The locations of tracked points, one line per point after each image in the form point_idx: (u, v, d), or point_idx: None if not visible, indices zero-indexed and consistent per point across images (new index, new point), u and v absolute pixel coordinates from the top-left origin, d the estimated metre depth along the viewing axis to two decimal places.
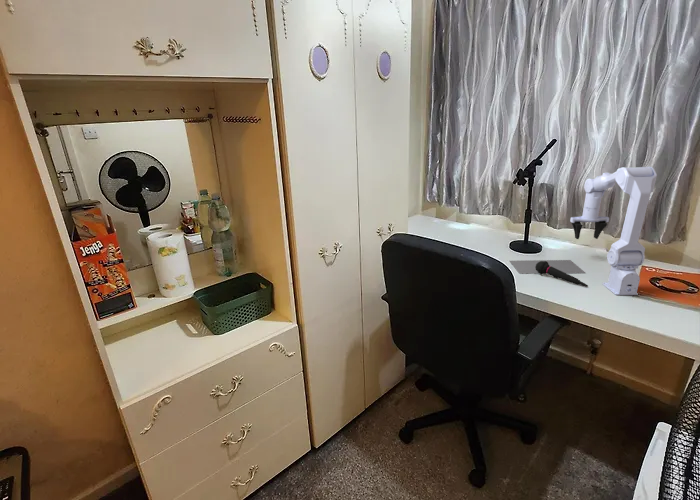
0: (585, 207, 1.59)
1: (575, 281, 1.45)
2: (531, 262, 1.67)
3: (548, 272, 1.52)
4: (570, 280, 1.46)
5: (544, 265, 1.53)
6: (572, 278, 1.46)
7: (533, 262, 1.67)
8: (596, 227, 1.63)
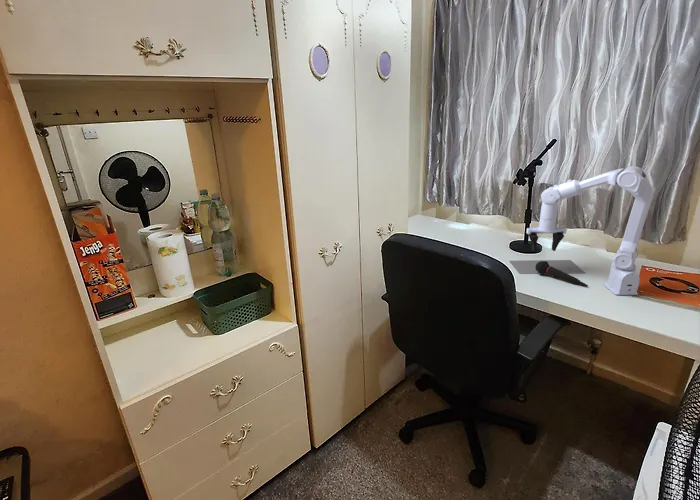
0: (541, 218, 1.50)
1: (575, 281, 1.45)
2: (531, 262, 1.67)
3: (548, 272, 1.52)
4: (570, 280, 1.46)
5: (544, 265, 1.53)
6: (572, 278, 1.46)
7: (533, 262, 1.67)
8: (554, 238, 1.54)
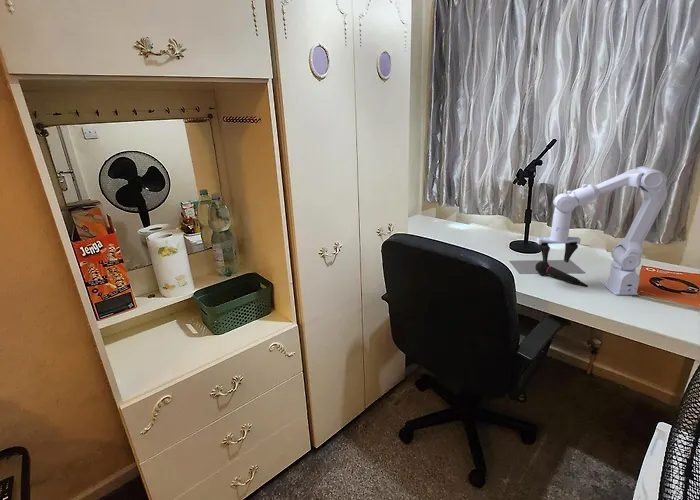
0: (553, 227, 1.39)
1: (575, 281, 1.45)
2: (531, 262, 1.67)
3: (548, 272, 1.52)
4: (570, 280, 1.46)
5: (544, 265, 1.53)
6: (572, 278, 1.46)
7: (533, 262, 1.67)
8: (566, 249, 1.43)
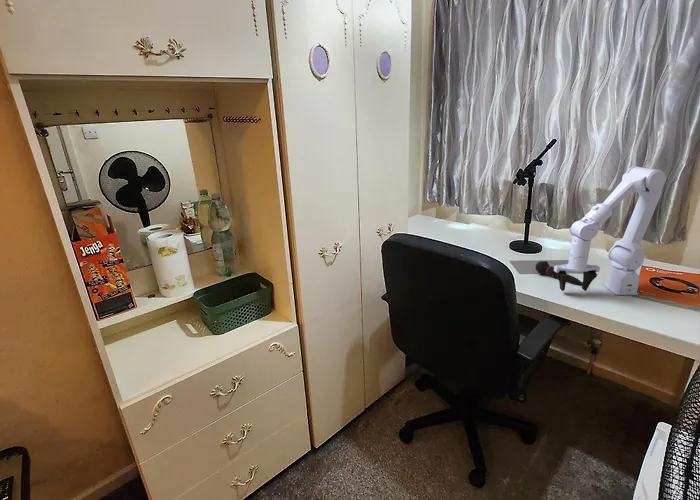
0: (571, 255, 1.34)
1: (575, 281, 1.45)
2: (531, 262, 1.67)
3: (548, 272, 1.52)
4: (570, 280, 1.46)
5: (544, 265, 1.53)
6: (572, 278, 1.46)
7: (533, 262, 1.67)
8: (585, 277, 1.37)
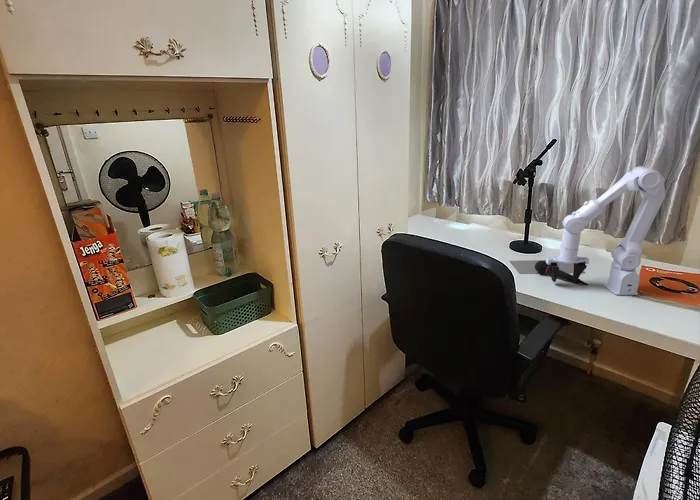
0: (562, 247, 1.41)
1: None
2: (531, 262, 1.67)
3: (548, 271, 1.53)
4: (570, 279, 1.47)
5: (544, 264, 1.53)
6: (572, 277, 1.47)
7: (533, 262, 1.67)
8: (575, 269, 1.44)
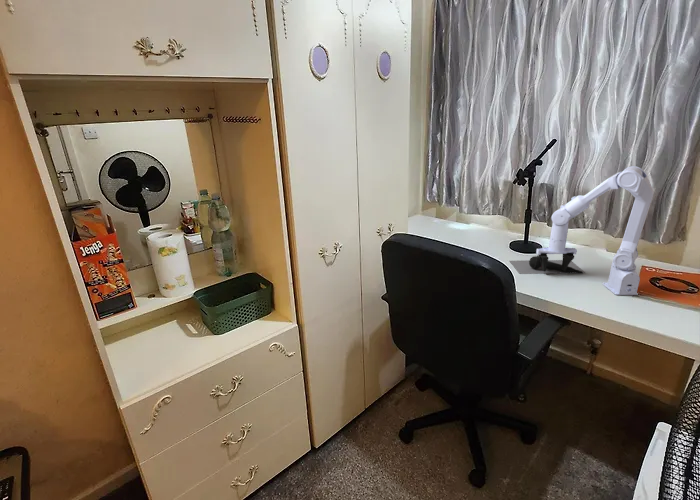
0: (551, 238, 1.50)
1: (571, 270, 1.55)
2: None
3: None
4: (566, 270, 1.55)
5: (539, 260, 1.58)
6: (568, 268, 1.55)
7: None
8: (564, 259, 1.54)
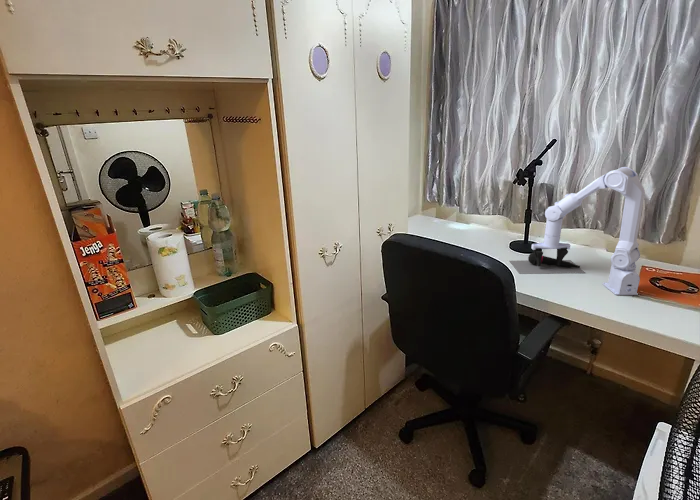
0: (546, 234, 1.55)
1: (569, 265, 1.60)
2: None
3: (543, 261, 1.62)
4: (565, 265, 1.60)
5: None
6: (566, 262, 1.60)
7: None
8: (558, 254, 1.59)
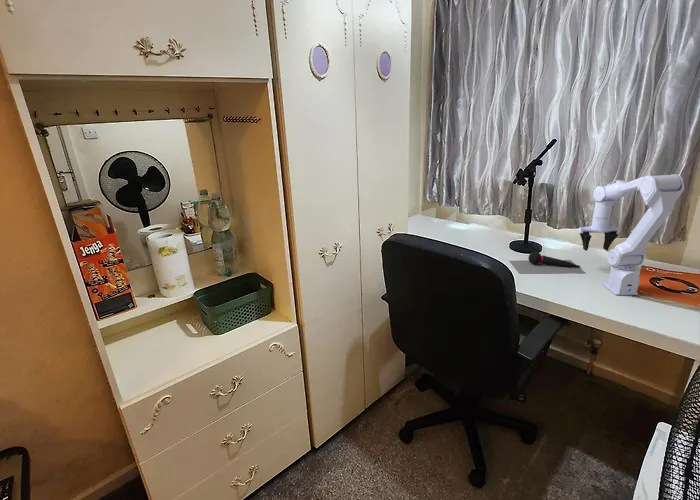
0: (594, 217, 1.48)
1: (569, 264, 1.60)
2: None
3: (543, 261, 1.63)
4: (565, 264, 1.60)
5: (538, 255, 1.63)
6: (566, 262, 1.60)
7: None
8: (606, 238, 1.52)
